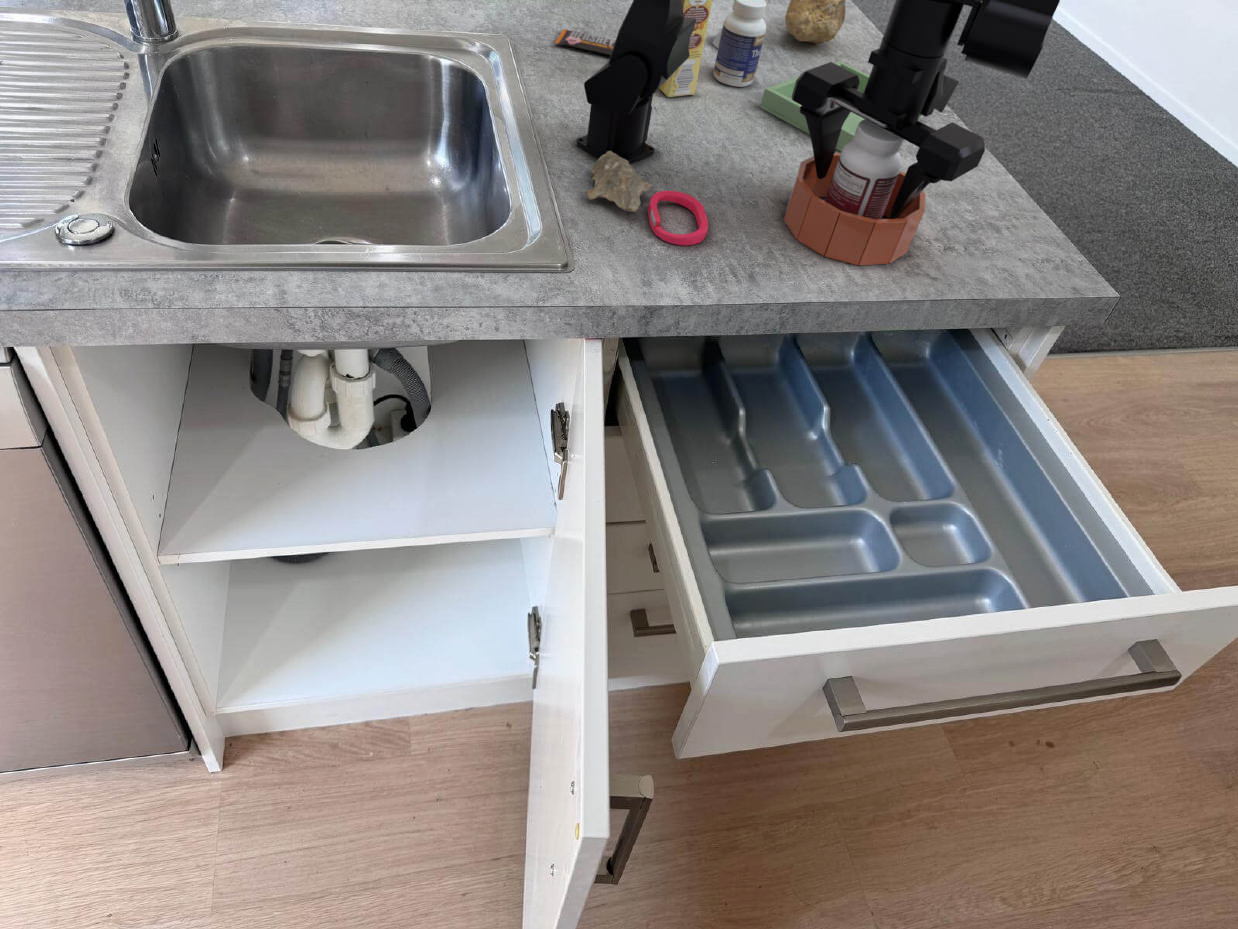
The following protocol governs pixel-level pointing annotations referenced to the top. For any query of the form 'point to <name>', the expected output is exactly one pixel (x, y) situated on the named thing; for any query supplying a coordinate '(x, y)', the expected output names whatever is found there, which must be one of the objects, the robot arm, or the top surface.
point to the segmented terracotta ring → (848, 221)
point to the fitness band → (688, 203)
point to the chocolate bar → (586, 41)
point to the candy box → (690, 51)
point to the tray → (788, 110)
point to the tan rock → (815, 19)
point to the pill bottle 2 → (866, 172)
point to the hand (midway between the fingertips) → (856, 197)
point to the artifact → (617, 182)
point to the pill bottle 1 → (741, 43)
